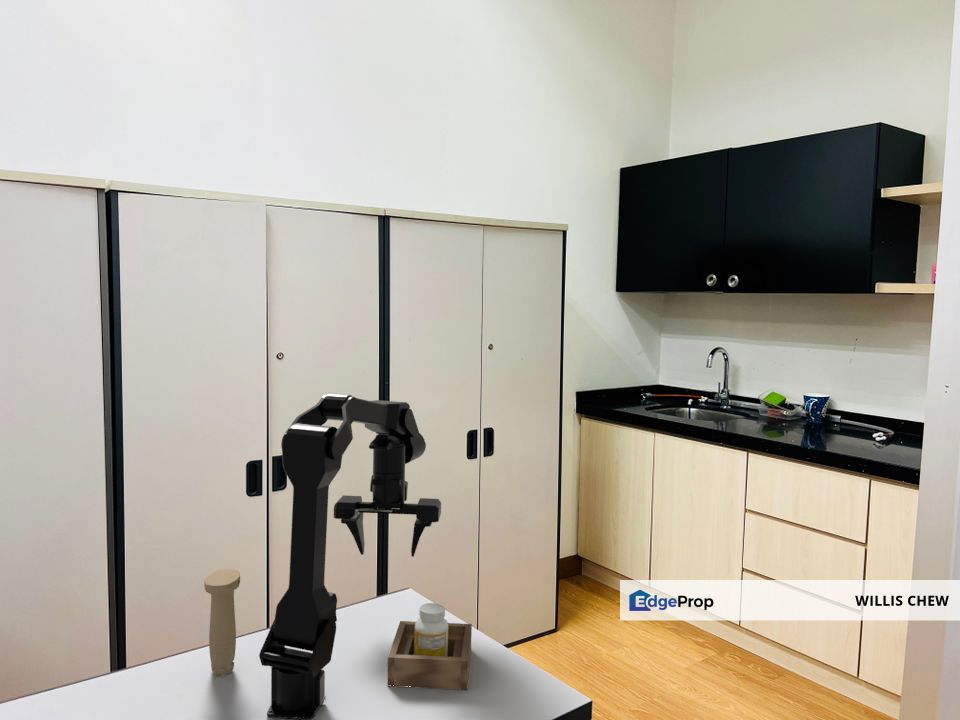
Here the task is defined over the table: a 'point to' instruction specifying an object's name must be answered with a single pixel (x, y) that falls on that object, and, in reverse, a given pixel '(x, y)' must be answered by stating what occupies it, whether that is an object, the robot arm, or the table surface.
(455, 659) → the walnut box
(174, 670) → the table surface
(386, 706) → the table surface
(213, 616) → the handle
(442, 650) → the supplement bottle
